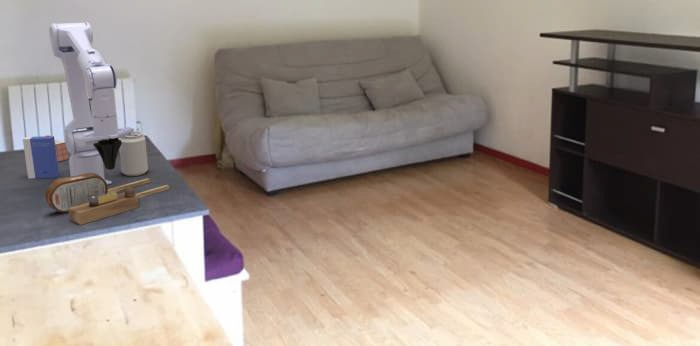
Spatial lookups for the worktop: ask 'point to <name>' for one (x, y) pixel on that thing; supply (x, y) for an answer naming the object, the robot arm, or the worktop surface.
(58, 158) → the puzzle toy
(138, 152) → the can
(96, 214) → the wooden block with knobs
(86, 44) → the robot arm
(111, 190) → the oak guide strips
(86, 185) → the tin
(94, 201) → the brass lever
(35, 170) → the walkman
